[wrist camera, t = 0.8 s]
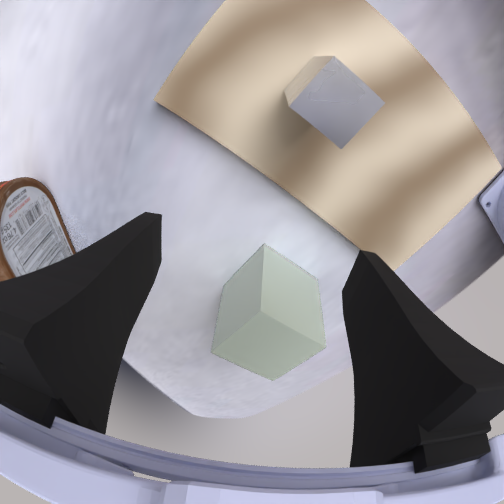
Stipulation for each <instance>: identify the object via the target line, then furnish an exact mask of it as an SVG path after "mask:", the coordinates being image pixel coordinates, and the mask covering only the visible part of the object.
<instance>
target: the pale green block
mask: <svg viewBox="0 0 504 504" xmlns="http://www.w3.org/2000/svg"><path fill="white" fill-rule="evenodd" d="M325 348H326V340H325V332H324V324H323V316H322V308H321V301H320V293H319V286H318V279H316V278H315V277H313V276H312V275H311V274H309V273H308V272H306V271H305V270H303V269H302V268H300V267H299V266H297V265H296V264H294V263H293V262H291V261H290V260H288V259H287V258H285V257H284V256H283V255H281V254H280V253H278V252H277V251H275V250H274V249H272V248H271V247H269V246H268V245H266V244H265V243H264V244H263V245H262V246H261V248H260V249H259V250H258V251H257V252H256V253H255V254H254V255H253V256H252V257H251V258H250V259H249V260H248V261H247V262H246V263H245V264H244V265H243V266H242V267H241V268H240V269H239V270H238V271H237V272H236V274H235V275H234V276H233V277H232V278H231V279H230V280H229V281H228V282H227V283H226V284H225V285H224V287H223V292H222V297H221V302H220V307H219V312H218V317H217V322H216V328H215V333H214V338H213V343H212V349H211V353H213V354H215V355H217V356H219V357H221V358H223V359H225V360H227V361H230V362H232V363H234V364H236V365H238V366H240V367H242V368H245V369H247V370H249V371H251V372H254V373H256V374H258V375H260V376H263V377H265V378H267V379H270V380H272V381H274V380H275V379H277V378H279V377H280V376H282V375H284V374H285V373H287V372H289V371H290V370H292V369H293V368H295V367H297V366H298V365H300V364H301V363H303V362H305V361H306V360H308V359H309V358H311V357H312V356H314V355H315V354H317V353H318V352H320V351H322V350H323V349H325Z"/></svg>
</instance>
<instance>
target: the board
mask: <svg viewBox="0 0 504 504" xmlns="http://www.w3.org/2000/svg"><path fill="white" fill-rule="evenodd" d="M314 56H335V57H336V58H337V59H338V60H340V61H341V62H342V63H343V64H344V65H345V66H347V67H348V68H349V69H350V70H351V71H352V72H353V73H354V74H356V75H357V76H358V77H359V78H360V79H361V80H362V81H363V82H364V83H365V84H366V85H367V86H369V87H370V88H371V89H372V90H373V91H374V92H375V93H376V94H377V95H378V96H379V97H380V98H381V99H382V100H383V101H384V102H385V104H384V105H383V106H382V107H381V108H380V109H379V110H378V111H377V112H376V114H375V115H374V116H373V117H372V118H371V119H370V120H369V121H368V122H367V123H366V124H365V125H364V126H363V127H362V128H361V129H360V130H359V131H358V133H357V134H356V135H355V136H354V137H353V138H352V139H351V140H350V141H349V142H348V143H347V144H346V145H345V146H344V147H343V148H342V149H340V148H339V147H338V146H336V145H335V144H334V143H333V142H332V141H331V140H330V139H328V138H327V137H326V136H325V135H324V134H322V133H321V132H320V131H319V130H318V129H316V128H315V127H314V126H313V125H312V124H310V123H309V122H308V121H307V120H305V119H304V118H303V117H302V116H300V115H299V114H298V113H297V112H295V111H294V110H293V109H291V108H290V107H289V105H288V102H287V99H286V95H285V92H284V89H285V88H286V87H287V86H288V85H289V84H290V83H291V81H292V80H293V79H294V78H295V77H296V76H297V75H298V73H299V72H300V71H301V70H302V69H303V68H304V67H305V66H306V64H307V63H308V62H309V61H310V60H311V59H312V58H313V57H314ZM154 101H156V102H158V103H159V104H161V105H162V106H164V107H166V108H167V109H169V110H170V111H172V112H173V113H175V114H177V115H178V116H180V117H181V118H183V119H184V120H186V121H187V122H189V123H190V124H192V125H193V126H195V127H196V128H198V129H199V130H201V131H202V132H204V133H205V134H207V135H208V136H210V137H211V138H213V139H214V140H216V141H217V142H219V143H220V144H222V145H223V146H225V147H226V148H227V149H229V150H230V151H232V152H233V153H235V154H236V155H237V156H239V157H240V158H242V159H243V160H245V161H246V162H247V163H249V164H250V165H252V166H253V167H254V168H256V169H257V170H259V171H260V172H261V173H263V174H264V175H265V176H267V177H268V178H270V179H271V180H272V181H274V182H275V183H276V184H278V185H279V186H280V187H282V188H283V189H284V190H286V191H287V192H288V193H290V194H291V195H292V196H294V197H295V198H296V199H298V200H299V201H300V202H302V203H303V204H304V205H305V206H307V207H308V208H309V209H311V210H312V211H313V212H315V213H316V214H317V215H318V216H320V217H321V218H322V219H323V220H325V221H326V222H327V223H329V224H330V225H331V226H332V227H334V228H335V229H336V230H337V231H339V232H340V233H341V234H342V235H344V236H345V237H346V238H347V239H348V240H350V241H351V242H352V243H353V244H355V245H356V246H357V247H358V248H359V249H361V250H364V251H369V252H374V253H376V254H377V255H378V256H379V257H380V258H381V259H382V260H383V261H384V262H385V263H386V264H387V265H388V266H389V267H390V268H391V269H392V270H393V271H395V270H396V269H397V268H398V267H399V266H400V265H402V264H403V263H404V262H405V261H406V260H407V259H409V258H410V257H411V256H412V255H413V254H414V253H415V252H417V251H418V250H419V249H420V248H421V247H422V246H423V245H424V244H426V243H427V242H428V241H429V240H430V239H431V238H432V237H433V236H434V235H435V234H437V233H438V232H439V231H440V230H441V229H442V228H443V227H444V226H445V225H446V224H447V223H448V222H449V221H450V220H451V219H452V218H454V217H455V216H456V215H457V214H458V213H459V212H460V211H461V210H462V209H463V208H464V207H465V206H466V205H467V204H468V203H469V202H470V201H471V200H472V199H473V198H474V197H475V196H476V195H477V194H478V193H479V192H480V191H481V190H482V189H483V188H484V187H485V185H486V184H487V183H488V182H489V181H490V180H491V179H492V178H493V177H494V176H495V175H496V174H497V173H498V172H499V171H500V169H501V168H502V167H501V165H500V164H499V162H498V160H497V158H496V157H495V155H494V153H493V151H492V150H491V148H490V146H489V145H488V143H487V141H486V140H485V138H484V137H483V135H482V133H481V132H480V130H479V129H478V127H477V126H476V124H475V123H474V121H473V120H472V118H471V117H470V115H469V114H468V113H467V111H466V110H465V108H464V107H463V105H462V104H461V103H460V101H459V100H458V99H457V97H456V96H455V95H454V93H453V92H452V91H451V89H450V88H449V87H448V86H447V84H446V83H445V82H444V81H443V79H442V78H441V77H440V76H439V74H438V73H437V72H436V71H435V70H434V69H433V67H432V66H431V65H430V64H429V63H428V62H427V60H426V59H425V58H424V57H423V56H422V55H421V54H420V53H419V52H418V50H417V49H416V48H415V47H414V46H413V45H412V44H411V43H410V42H409V41H408V40H407V39H406V38H405V37H404V36H403V35H402V34H401V33H400V32H399V31H398V30H397V29H396V28H395V27H394V26H393V25H392V24H391V23H390V22H389V21H388V20H387V19H386V18H385V17H383V16H382V15H381V14H380V13H379V12H378V11H377V10H376V9H375V8H373V7H372V6H371V5H370V4H369V3H368V2H366V1H365V0H225V1H224V3H223V4H222V5H221V6H220V7H219V9H218V10H217V11H216V12H215V13H214V15H213V16H212V17H211V18H210V20H209V21H208V22H207V23H206V25H205V26H204V27H203V29H202V30H201V31H200V33H199V34H198V35H197V36H196V38H195V39H194V41H193V42H192V43H191V45H190V46H189V47H188V49H187V50H186V52H185V53H184V54H183V56H182V57H181V59H180V60H179V61H178V63H177V64H176V66H175V67H174V69H173V70H172V72H171V73H170V75H169V76H168V78H167V79H166V81H165V82H164V84H163V85H162V87H161V89H160V90H159V92H158V93H157V95H156V97H155V98H154Z"/></svg>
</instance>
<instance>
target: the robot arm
mask: <svg viewBox="0 0 504 504" xmlns="http://www.w3.org/2000/svg"><path fill="white" fill-rule="evenodd" d="M479 202H480V204H481V206H482V207H483V209H484V211H485V212H486V214H487V216H488V217H489V219H490V221H491V222H492V224H493V226H494V228H495V229H496V231H497V233H498V235H499V236H500V238H501V240H502V242H503V244H504V171H503V172H502V173H501V174H500V175H499V176H498V177H497V178H496V180H495V181H494V182H493V183H492V184H491V185H490V186H489V187H488V188H487V189H486V190H485V191H484V192H483V193H482V194H481V196H480V198H479ZM487 203H488V204H487ZM486 204H487V205H486ZM161 220H162V215H161V214H155V213H148V212H145V213H143V214H141V215H139V216H138V217H136V218H134V219H133V220H131V221H130V222H128V223H126V224H125V225H123V226H122V227H120V228H118V229H117V230H115V231H114V232H112V233H110V234H109V235H107V236H106V237H104V238H102V239H100V240H99V241H97V242H95V243H93V244H92V245H90V246H88V247H87V248H85V249H83V250H81V251H79V252H77V253H75V254H73V255H71V256H69V257H67V258H65V259H63V260H61V261H58V262H56V263H54V264H51V265H49V266H46V267H44V268H41V269H39V270H36V271H33V272H31V273H28V274H25V275H22V276H18V277H15V278H12V279H8V280H4V281H0V474H1V475H2V476H4V477H5V478H7V479H9V480H10V481H12V482H14V483H15V484H17V485H19V486H20V487H22V488H24V489H26V490H27V491H29V492H31V493H33V494H35V495H37V496H39V497H40V498H42V499H44V500H46V501H48V502H50V503H52V504H496V503H498V502H500V501H502V500H504V434H501V435H498V436H495V437H493V438H491V439H489V440H488V437H487V434H486V433H488V432H489V431H491V425H490V422H489V421H490V420H491V419H493V418H494V417H495V416H497V415H498V414H499V413H500V412H501V411H503V410H504V364H502V363H500V362H498V361H496V360H495V359H493V358H491V357H489V356H488V355H486V354H485V353H483V352H482V351H480V350H479V349H477V348H476V347H474V346H473V345H471V344H470V343H468V342H467V341H466V340H464V339H463V338H462V337H461V336H459V335H458V334H457V333H456V332H454V331H453V330H452V329H451V328H449V327H448V326H447V325H446V324H445V323H444V322H443V321H441V320H440V319H439V318H438V317H437V316H436V315H435V314H434V313H433V312H432V311H431V310H430V309H428V308H427V307H426V306H425V304H424V303H423V302H422V301H421V300H420V299H419V298H418V297H417V296H416V295H415V294H414V293H413V292H412V291H411V290H410V289H409V288H408V287H407V286H406V285H405V283H404V282H403V281H402V280H401V279H400V278H399V277H398V276H397V275H396V274H395V272H394V271H393V270H392V269H391V268H390V267H389V266H388V265H387V264H386V263H385V262H384V261H383V260H382V259H381V258H380V257H379V256H378V255H377V254H376V253H374V252H369V251H364V250H360V252H359V254H358V256H357V259H356V261H355V263H354V266H353V268H352V270H351V272H350V275H349V277H348V279H347V281H346V284H345V286H344V288H343V290H342V301H343V315H344V321H345V326H346V332H347V337H348V342H349V348H350V353H351V359H352V365H353V373H354V394H355V406H354V407H355V410H354V411H355V412H354V432H353V445H352V453H351V461H350V468H284V467H267V466H255V465H245V464H236V463H228V462H221V461H214V460H207V459H201V458H196V457H190V456H185V455H180V454H175V453H170V452H166V451H162V450H158V449H153V448H149V447H145V446H142V445H138V444H134V443H131V442H127V441H124V440H120V439H117V438H114V437H111V436H108V435H105V433H106V427H107V421H108V414H109V409H110V405H111V399H112V395H113V391H114V386H115V382H116V379H117V375H118V371H119V367H120V364H121V360H122V357H123V354H124V350H125V347H126V344H127V341H128V338H129V336H130V333H131V331H132V328H133V326H134V324H135V322H136V320H137V318H138V316H139V313H140V311H141V309H142V307H143V305H144V303H145V301H146V299H147V297H148V295H149V292H150V290H151V288H152V286H153V284H154V281H155V279H156V276H157V273H158V270H159V267H160V264H161ZM130 470H131V471H130ZM132 471H135V472H139V473H142V474H146V475H150V476H154V477H158V478H162V479H167V480H171V482H170V483H167V482H161V481H155V480H150V479H145V478H140V477H135V476H134V474H133V472H132Z"/></svg>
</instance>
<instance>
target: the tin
mask: <svg viewBox="0 0 504 504" xmlns="http://www.w3.org/2000/svg"><path fill="white" fill-rule="evenodd" d="M75 253H76V252H75V250H74V247H73V245H72V243H71V240H70V238H69V235H68V233H67V231H66V228H65V226H64V223H63V220H62V218H61V215H60V213H59V210H58V207H57V205H56V202H55V200H54V198H53V196H52V195H51V193H50V192H49V190H48V189H47V188H46V187H45V186H44V185H43V184H42V183H41V182H39V181H37V180H35V179H33V178H28V177H22V178H17V179H13V180H10V181H4V182H0V281H4V280H8V279H12V278H15V277H18V276H22V275H25V274H28V273H31V272H33V271H36V270H39V269H41V268H44V267H46V266H49V265H51V264H54V263H56V262H58V261H61V260H63V259H65V258H67V257H69V256H71V255H73V254H75Z"/></svg>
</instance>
